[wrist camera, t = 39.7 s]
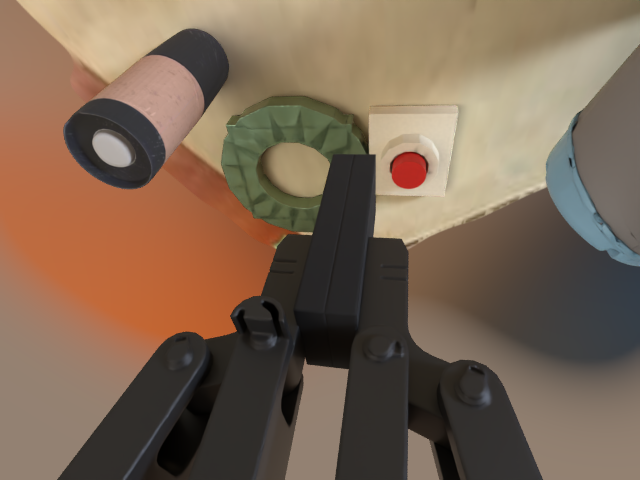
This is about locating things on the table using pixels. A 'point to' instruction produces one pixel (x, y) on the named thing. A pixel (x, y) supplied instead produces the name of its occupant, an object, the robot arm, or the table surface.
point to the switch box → (412, 144)
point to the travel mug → (147, 110)
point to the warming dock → (273, 128)
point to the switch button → (409, 170)
